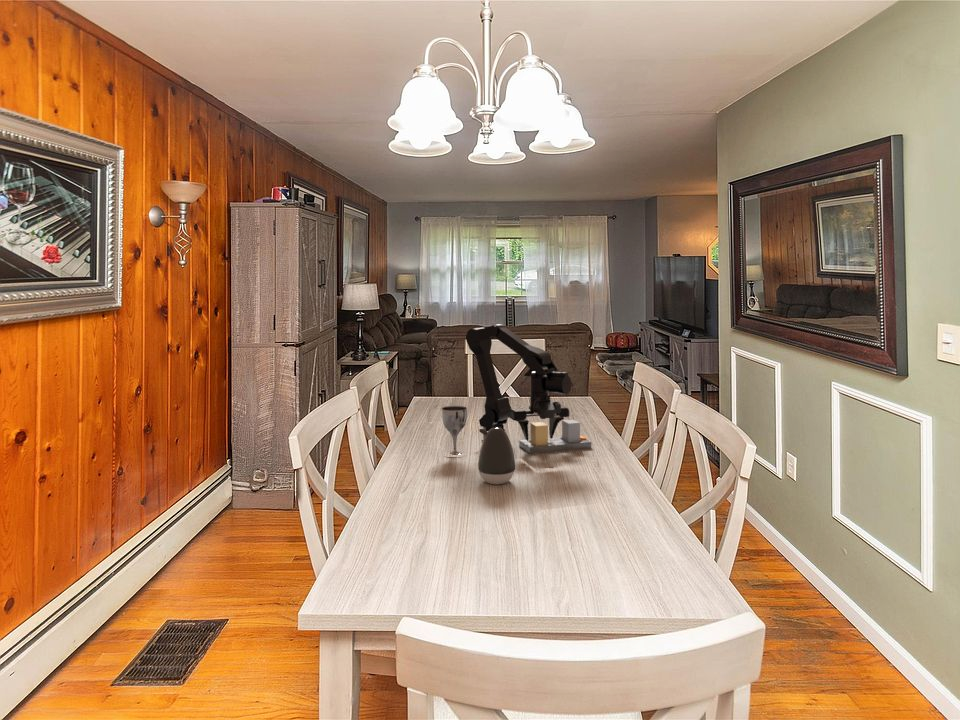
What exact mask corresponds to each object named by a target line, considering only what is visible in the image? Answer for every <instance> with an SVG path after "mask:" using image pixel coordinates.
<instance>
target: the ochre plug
mask: <svg viewBox="0 0 960 720" xmlns="http://www.w3.org/2000/svg"><path fill="white" fill-rule="evenodd" d="M529 424H530V427H529V428H530V437H529V439H530V443H532V444H533V445H535V446H537V445H548V438H549V424H547V423H545V422H543V421H539V422H538V421H537V422H530V423H529Z"/></svg>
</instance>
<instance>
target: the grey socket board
mask: <svg viewBox="0 0 960 720" xmlns="http://www.w3.org/2000/svg"><path fill="white" fill-rule="evenodd" d="M518 441H519V445H518V447H520V448H521V449H522V450H524V451H525V452H527V453H528V454H529V455H531V454H542V453H543V454H545V453H552V452H553V453H555V452H565V451H574V450H575V451H576V450H589V449H592V441H591V440H589V439H587V437H585V436H583V435H580V442H571V443H567V442H565V441H563V440H562V436H553V438H552V439H551V438H550V437H548V445H537V446H535V445H533V444H532V443H530V438H528V441H527V440H526V439H519V440H518Z"/></svg>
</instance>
